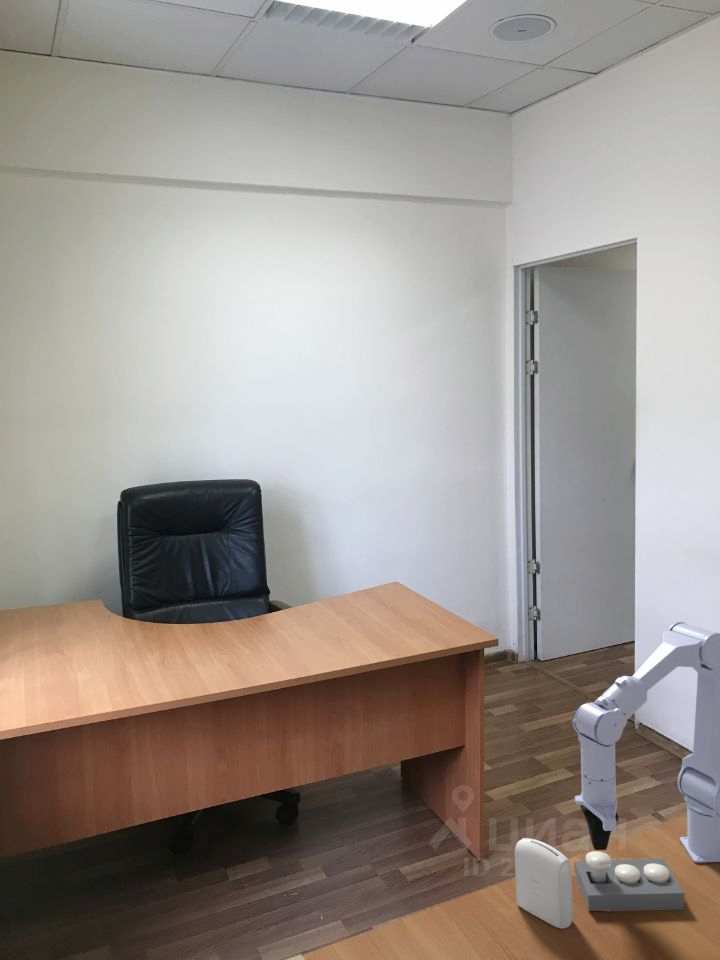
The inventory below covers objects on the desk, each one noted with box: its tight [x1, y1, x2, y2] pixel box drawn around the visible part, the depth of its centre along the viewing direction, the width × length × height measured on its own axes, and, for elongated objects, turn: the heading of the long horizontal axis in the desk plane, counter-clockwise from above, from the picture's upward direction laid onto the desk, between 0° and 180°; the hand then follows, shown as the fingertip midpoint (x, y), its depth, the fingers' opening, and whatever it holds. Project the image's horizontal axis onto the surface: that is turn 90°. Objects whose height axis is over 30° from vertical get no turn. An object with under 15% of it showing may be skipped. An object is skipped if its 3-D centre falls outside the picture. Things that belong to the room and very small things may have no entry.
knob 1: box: [585, 850, 612, 883], centre depth 142 cm, size 4×4×4 cm
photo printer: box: [514, 837, 574, 930], centre depth 138 cm, size 10×4×12 cm, turn 39°
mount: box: [574, 858, 685, 912], centre depth 143 cm, size 16×10×3 cm, turn 88°
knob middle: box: [615, 864, 640, 884], centre depth 143 cm, size 4×4×4 cm
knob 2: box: [644, 863, 669, 883], centre depth 142 cm, size 4×4×4 cm
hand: (599, 847), depth 142 cm, fingers closed
